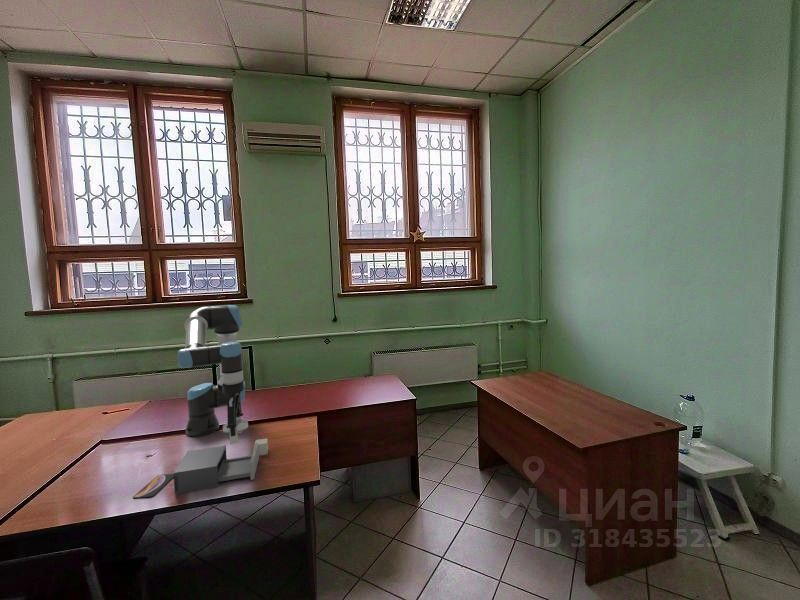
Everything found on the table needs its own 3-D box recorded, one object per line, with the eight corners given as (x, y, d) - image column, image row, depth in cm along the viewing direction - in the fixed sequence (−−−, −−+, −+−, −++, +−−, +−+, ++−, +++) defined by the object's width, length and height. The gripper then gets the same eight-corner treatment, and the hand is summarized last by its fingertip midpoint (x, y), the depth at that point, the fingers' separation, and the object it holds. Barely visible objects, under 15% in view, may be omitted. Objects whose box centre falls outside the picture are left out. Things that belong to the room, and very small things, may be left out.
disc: (249, 422, 144) (249, 418, 144) (246, 431, 135) (246, 427, 135) (225, 426, 141) (225, 421, 141) (220, 435, 133) (220, 430, 133)
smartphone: (131, 498, 124) (157, 474, 139) (131, 500, 124) (157, 476, 139) (153, 496, 124) (177, 473, 139) (153, 498, 124) (177, 475, 139)
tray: (223, 463, 146) (222, 448, 145) (258, 458, 149) (258, 443, 149) (214, 486, 130) (212, 469, 129) (254, 479, 133) (253, 462, 133)
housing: (189, 469, 142) (188, 450, 142) (227, 463, 146) (225, 445, 146) (175, 494, 126) (173, 472, 125) (217, 486, 130) (216, 466, 129)
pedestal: (256, 450, 157) (255, 440, 156) (268, 449, 158) (267, 438, 158) (254, 456, 152) (254, 445, 152) (267, 454, 153) (266, 443, 153)
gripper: (227, 375, 147) (231, 428, 148) (215, 391, 126) (219, 452, 127) (247, 373, 149) (250, 425, 150) (238, 388, 128) (242, 448, 129)
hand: (236, 437), depth 138 cm, fingers closed on disc, 9 cm apart
